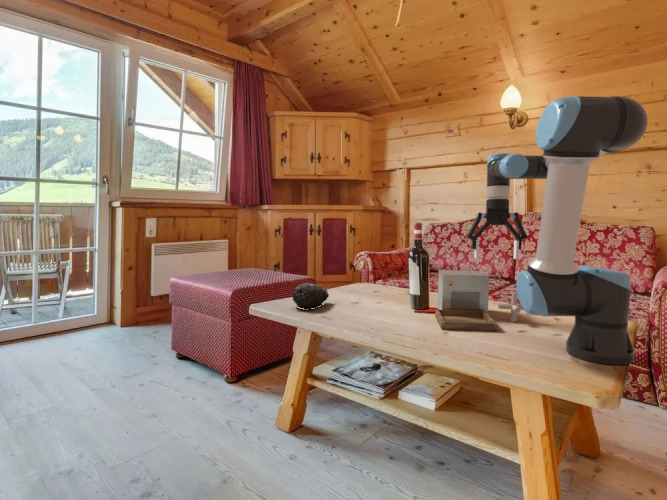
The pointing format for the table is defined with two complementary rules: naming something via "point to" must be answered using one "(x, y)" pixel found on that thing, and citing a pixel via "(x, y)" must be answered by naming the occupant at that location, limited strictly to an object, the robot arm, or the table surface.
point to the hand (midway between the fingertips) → (496, 258)
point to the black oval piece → (309, 295)
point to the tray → (465, 320)
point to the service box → (463, 290)
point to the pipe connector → (512, 306)
